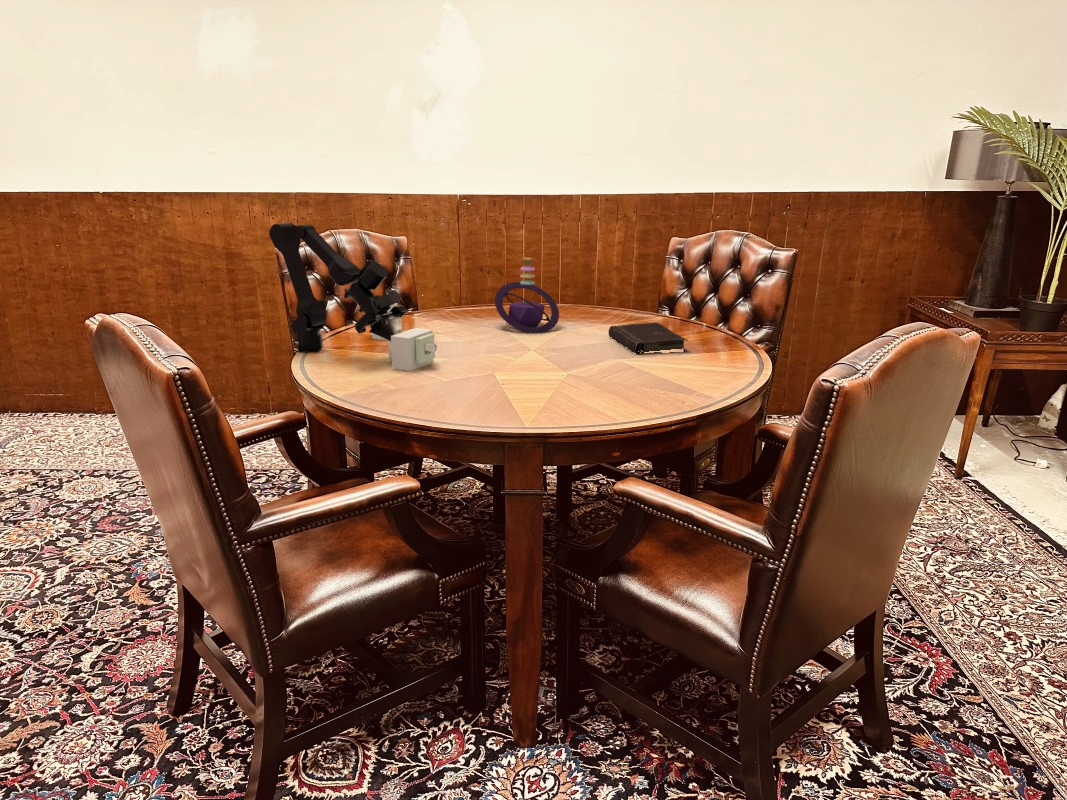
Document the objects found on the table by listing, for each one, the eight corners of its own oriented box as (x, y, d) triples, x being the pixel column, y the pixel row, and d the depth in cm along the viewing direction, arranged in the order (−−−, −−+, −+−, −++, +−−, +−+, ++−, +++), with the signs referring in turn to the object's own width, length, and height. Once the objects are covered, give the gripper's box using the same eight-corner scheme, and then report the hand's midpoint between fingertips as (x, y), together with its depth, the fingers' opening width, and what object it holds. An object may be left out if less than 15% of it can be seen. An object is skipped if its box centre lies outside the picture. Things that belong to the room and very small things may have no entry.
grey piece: (389, 362, 211) (386, 318, 207) (395, 359, 214) (393, 316, 210) (432, 368, 205) (430, 323, 201) (438, 365, 208) (436, 321, 204)
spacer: (416, 362, 205) (415, 338, 202) (430, 357, 211) (429, 333, 208) (421, 363, 204) (420, 339, 202) (434, 357, 210) (434, 334, 208)
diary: (634, 357, 224) (634, 341, 222) (608, 339, 247) (608, 325, 245) (689, 353, 228) (690, 338, 226) (658, 336, 251) (659, 322, 249)
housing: (392, 368, 206) (390, 336, 203) (416, 359, 216) (415, 328, 213) (410, 371, 203) (408, 338, 200) (433, 361, 214) (432, 330, 211)
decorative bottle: (503, 336, 247) (502, 262, 239) (490, 323, 266) (489, 255, 258) (565, 332, 252) (567, 260, 245) (548, 321, 272) (549, 253, 264)
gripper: (360, 286, 199) (395, 329, 197) (400, 277, 215) (433, 317, 213) (339, 312, 204) (373, 354, 203) (380, 301, 220) (412, 340, 219)
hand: (399, 340), depth 209 cm, fingers closed on grey piece, 3 cm apart
